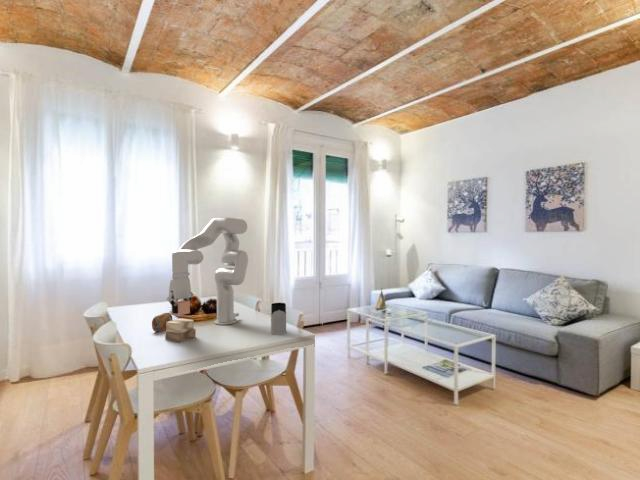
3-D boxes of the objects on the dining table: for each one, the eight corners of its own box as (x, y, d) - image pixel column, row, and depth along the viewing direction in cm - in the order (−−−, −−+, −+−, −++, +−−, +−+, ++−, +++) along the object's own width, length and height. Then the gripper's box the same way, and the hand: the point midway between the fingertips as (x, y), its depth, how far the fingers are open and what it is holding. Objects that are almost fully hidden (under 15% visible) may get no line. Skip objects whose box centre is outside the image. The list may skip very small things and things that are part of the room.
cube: (181, 311, 191) (181, 299, 191) (189, 313, 188) (189, 301, 188) (171, 314, 186) (171, 301, 186) (180, 315, 183) (179, 303, 183)
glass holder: (270, 335, 192) (270, 306, 192) (269, 328, 206) (269, 300, 206) (287, 334, 194) (287, 305, 193) (285, 327, 208) (285, 300, 207)
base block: (181, 335, 194) (181, 326, 194) (195, 337, 189) (195, 329, 189) (165, 340, 186) (165, 331, 186) (179, 343, 181) (179, 334, 181)
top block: (180, 326, 193) (180, 318, 193) (193, 328, 189) (193, 320, 189) (166, 331, 185) (166, 322, 185) (179, 333, 181) (179, 324, 181)
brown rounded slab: (156, 333, 196) (155, 317, 196) (150, 333, 197) (150, 317, 196) (173, 326, 211) (172, 311, 211) (168, 325, 211) (167, 311, 211)
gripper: (188, 273, 196) (189, 308, 196) (160, 277, 181) (160, 314, 181) (199, 274, 192) (199, 309, 193) (170, 278, 177) (171, 316, 178)
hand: (180, 311), depth 187 cm, fingers closed on cube, 6 cm apart
